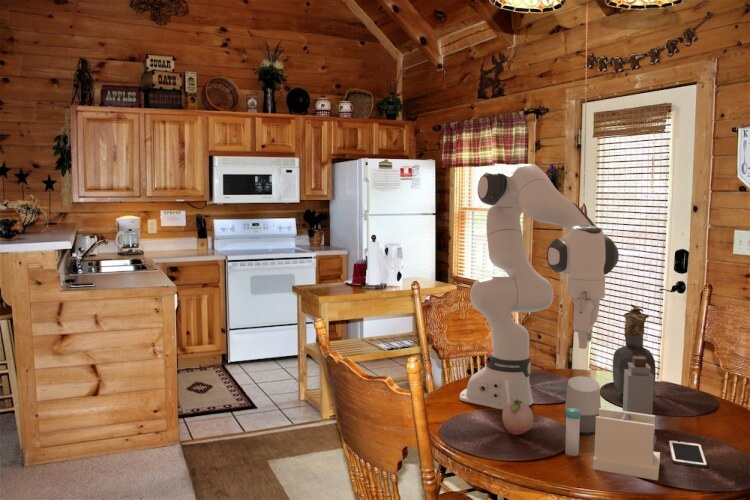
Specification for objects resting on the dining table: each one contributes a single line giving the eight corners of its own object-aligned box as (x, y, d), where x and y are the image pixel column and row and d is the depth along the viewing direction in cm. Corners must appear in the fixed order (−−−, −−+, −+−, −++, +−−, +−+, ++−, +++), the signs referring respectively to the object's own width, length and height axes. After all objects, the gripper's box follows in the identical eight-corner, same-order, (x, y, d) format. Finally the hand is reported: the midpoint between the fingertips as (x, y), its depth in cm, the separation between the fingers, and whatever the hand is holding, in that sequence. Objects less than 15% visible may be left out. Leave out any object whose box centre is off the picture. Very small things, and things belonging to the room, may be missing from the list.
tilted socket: (593, 469, 155) (595, 418, 154) (598, 452, 165) (600, 404, 164) (657, 480, 149) (660, 427, 148) (659, 462, 159) (661, 412, 158)
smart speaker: (568, 435, 176) (570, 384, 175) (560, 423, 185) (562, 375, 184) (604, 436, 176) (606, 385, 174) (594, 424, 185) (596, 375, 184)
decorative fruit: (534, 443, 171) (535, 405, 170) (502, 441, 172) (502, 403, 171) (532, 430, 180) (533, 394, 179) (501, 428, 181) (502, 393, 180)
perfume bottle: (651, 423, 185) (654, 361, 184) (626, 422, 187) (629, 359, 185) (647, 415, 192) (649, 355, 190) (622, 414, 193) (624, 354, 192)
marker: (563, 454, 163) (565, 411, 162) (566, 449, 167) (567, 407, 166) (577, 457, 162) (579, 413, 161) (579, 452, 165) (581, 409, 164)
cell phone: (700, 447, 170) (700, 443, 170) (708, 469, 156) (708, 465, 156) (667, 443, 172) (668, 439, 172) (672, 464, 159) (672, 460, 158)
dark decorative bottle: (619, 406, 200) (623, 309, 197) (607, 388, 219) (610, 298, 216) (657, 408, 199) (661, 310, 196) (641, 389, 217) (645, 299, 215)
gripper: (595, 295, 155) (594, 353, 155) (603, 286, 173) (602, 338, 174) (567, 294, 157) (566, 351, 158) (578, 285, 176) (577, 336, 177)
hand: (585, 344), depth 166 cm, fingers open, 8 cm apart
